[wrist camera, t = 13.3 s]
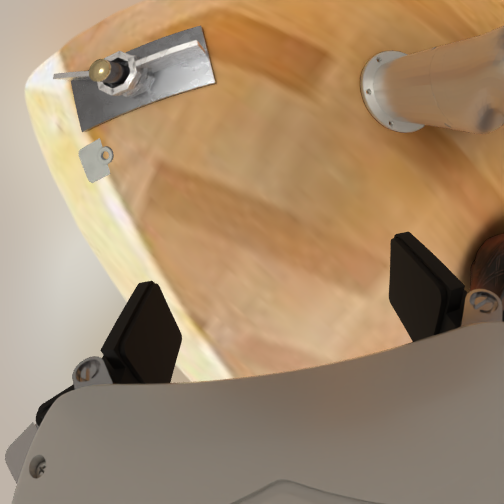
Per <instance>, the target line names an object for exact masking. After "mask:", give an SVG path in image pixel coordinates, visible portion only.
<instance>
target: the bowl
mask: <svg viewBox="0 0 504 504" xmlns="http://www.w3.org/2000/svg"><path fill="white" fill-rule="evenodd" d="M474 289H486V290H489V291H491V292H493V293H495V294H496V295H497V296H498V297H499V298H500V300H501V302H502V310H503V311H504V233H503V234H500V235H496V236H493V237H491V238H489V239H488V240H486V241H485V243H484V244H483V245H482V246H481V248H480V249H479V250H478V252H477V256H476V260H475V261H474V262H473V264H472V266H471V283H470V291H472V290H474Z"/></svg>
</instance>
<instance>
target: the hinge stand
mask: <svg viewBox="0 0 504 504" xmlns="http://www.w3.org/2000/svg"><path fill="white" fill-rule="evenodd" d="M131 55H136V56H138V57H140V58H141V59H140V60H139V59H138V58H136V57H134V56H131ZM104 60H108V61H111V62H115V63H118V62H120V61H122V60H126V61H128V63H126V64H124V65H125V66H128V67H129V68H130V74H129V76H128V77H127V79H126V81H125V83H124V84H122V85H119V84H117V85H118V87H116V88H115V87H113V86H110V83H105V82H98V81H93V80H76V81H75V80H72V81H71V84H72V89H73V95H74V99H75V104H76V109H77V113H78V118H79V122H80V126H81V130H82V132H86V131H88V130H90V129H92V128H94V127H96V126H99V125H101V124H103V123H105V122H107V121H109V120H112V119H114V118H116V117H119V116H121V115H123V114H126V113H128V112H131V111H133V110H136V109H138V108H141V107H144V106H146V105H149V104H152V103H154V102H157V101H160V100H163V99H166V98H169V97H172V96H175V95H178V94H181V93H184V92H188V91H191V90H194V89H198V88H201V87H205V86H209V85H212V84H216V81H215V77H214V73H213V69H212V65H211V61H210V57H209V53H208V49H207V45H206V41H205V37H204V33H203V29H202V27H201V26H198V27H194V28H191V29H188V30H184V31H181V32H178V33H175V34H172V35H169V36H166V37H163V38H161V39H158V40H155V41H153V42H150V43H147V44H145V45H142V46H140V47H138V48H135V49H133V50H131V51H128V52H126V53H124V52H121V51H118V52H116V53H114V54H112V55H110V56H108V57H106V58H104ZM144 67H147V68H148V73H147V78H146V82H145V85H144V86H143V87H141V88H140V89H139V90H138V91H137V92H135V93H134V94H133V95H122V94H124V93H127V92H129V91H131V90H134V88H135V86H136V84H137V83H138V81H139V79H140V77H141V76H142V70H141V69H142V68H144Z"/></svg>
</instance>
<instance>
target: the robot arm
mask: <svg viewBox="0 0 504 504" xmlns="http://www.w3.org/2000/svg"><path fill="white" fill-rule="evenodd" d="M376 59H377V60H378V62H377V60H376ZM360 87H361V94H362V97H363V100H364V103H365V105H366V107H367V109H368V111H369V112H370V113H371V115H372V116H373V117H374V118H375V119H376V120H377V121H378V122H379V123H380V124H382V125H383V126H385V127H386V128H388V129H391V130H393V131H397V132H403V133H408V132H414V131H417V130H419V129H421V128H423V127H424V126H425V125H429V126H436V127H442V128H448V129H454V130H459V131H464V132H469V133H475V134H486V133H490V132H493V131H495V130H497V129H498V128H499V127H501V126H502V125H503V124H504V26H502V27H499V28H497V29H495V30H492V31H490V32H488V33H485V34H482V35H479V36H477V37H473V38H469V39H465V40H462V41H458V42H454V43H450V44H446V45H442V46H438V47H434V48H430V49H427V50H423V51H420V52H416V53H413V54H409V55H408V54H405V53H402V52H398V51H385V52H382V53H379V54H377V55H375V56H373V57H372V58H371V59H370V60H369V61H368V62H367V63H366V65H365V66H364V69H363V71H362V75H361V82H360ZM366 91H367V92H368V94H366ZM389 122H390V124H389ZM464 287H465V286H464V285H463V284H462V282H461V281H460V280H459V279H458V278H457V277H456V276H455V275H454V274H453V273H452V272H451V271H450V270H449V269H448V268H447V267H446V266H445V265H444V264H443V263H442V262H441V261H440V260H439V259H438V258H437V257H436V256H435V255H434V254H433V253H432V252H430V251H429V250H428V249H427V248H426V247H425V246H424V245H423V244H422V243H421V242H420V241H419V240H418V239H416V238H415V237H414V236H413V235H412V234H411V233H410V232H404V233H399V234H396V235H395V236H394V238H393V239H391V256H390V285H389V300H390V303H391V305H392V306H393V308H394V310H395V311H396V313H397V315H398V316H399V318H400V320H401V322H402V323H403V325H404V327H405V329H406V330H407V332H408V334H409V336H410V337H411V339H412V341H413V342H412V343H408V344H405V345H402V346H398V347H395V348H391V349H388V350H384V351H380V352H377V353H373V354H369V355H365V356H361V357H357V358H352V359H348V360H344V361H339V362H334V363H330V364H325V365H320V366H315V367H309V368H304V369H298V370H292V371H286V372H280V373H273V374H266V375H259V376H251V377H243V378H233V379H224V380H213V381H200V382H183V383H170V382H171V378H172V374H173V370H174V367H175V363H176V359H177V356H178V352H179V349H180V345H181V342H182V335H181V332H180V330H179V328H178V326H177V324H176V322H175V320H174V317H173V315H172V313H171V311H170V309H169V307H168V304H167V302H166V300H165V298H164V296H163V293H162V291H161V289H160V287H159V285H158V284H155V283H154V282H153V281H148V282H142V283H139V284H138V285H137V287H136V289H135V290H134V292H133V294H132V295H131V297H130V299H129V300H128V302H127V304H126V306H125V307H124V309H123V311H122V312H121V314H120V316H119V318H118V319H117V321H116V323H115V325H114V326H113V328H112V330H111V332H110V334H109V336H108V337H107V339H106V341H105V343H104V345H103V347H102V348H101V352H102V353H103V355H104V356H103V357H102V358H99V357H95V356H94V357H89V358H87V359H85V360H83V361H82V362H80V363H79V364H78V365H77V366H76V368H75V370H74V372H73V375H72V379H73V385H72V386H70V387H69V388H67V389H65V390H64V391H62V392H61V393H59V394H58V395H56V396H55V397H53V398H52V399H50V400H48V401H47V402H45V403H43V404H42V405H41V406H40V407H39V409H38V412H37V415H36V423H37V424H36V425H35V424H34V423H32V424H31V425H30V426H29V427H28V428H27V429H26V430H25V431H24V432H23V433H22V434H21V435H20V436H19V437H18V438H17V439H16V440H15V441H14V442H13V443H12V444H11V445H10V446H9V448H8V449H7V451H6V454H5V460H6V463H7V465H8V468H9V470H10V472H11V474H12V476H13V477H14V480H15V481H16V483H17V486H16V489H15V493H14V497H13V501H12V504H504V311H503V310H502V302H501V300H500V298H499V297H498V296H497V295H496V294H495V293H493V292H491V291H489V290H486V289H474V290H472V291H470V292H469V293H467V292H466V291H465V290H464Z"/></svg>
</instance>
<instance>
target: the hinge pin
mask: <svg viewBox="0 0 504 504" xmlns="http://www.w3.org/2000/svg"><path fill="white" fill-rule="evenodd" d="M129 74H130V68H129V67H128V66H125V65H121V64H118V63H115V62H111V61H108V60H104V59H99V60H96V61H95V62H94V63H93V64H92V65H91V67H90V69H89V77H90V79H91V80H93V81H98V82H105V83H113V84H119V85H122V84H124V83H125V81H126V79H127V77H128V76H129Z"/></svg>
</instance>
